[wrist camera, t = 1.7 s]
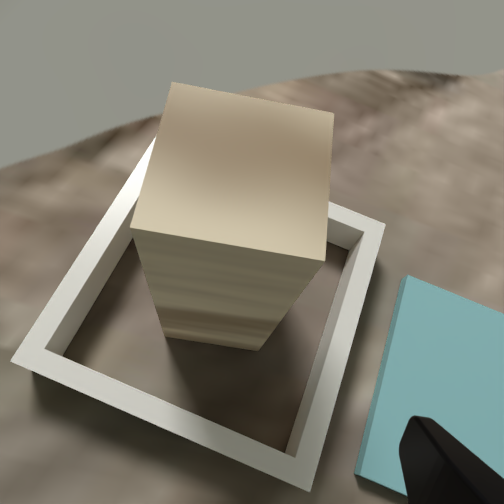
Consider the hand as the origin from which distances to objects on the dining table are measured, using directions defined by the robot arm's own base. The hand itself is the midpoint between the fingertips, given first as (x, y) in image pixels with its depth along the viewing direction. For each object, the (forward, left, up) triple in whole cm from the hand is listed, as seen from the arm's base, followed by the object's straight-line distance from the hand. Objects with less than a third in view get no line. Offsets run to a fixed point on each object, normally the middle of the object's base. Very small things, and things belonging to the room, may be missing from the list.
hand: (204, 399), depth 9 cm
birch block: (+6, +2, -13) cm, 14 cm away
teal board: (+6, -13, -13) cm, 19 cm away
